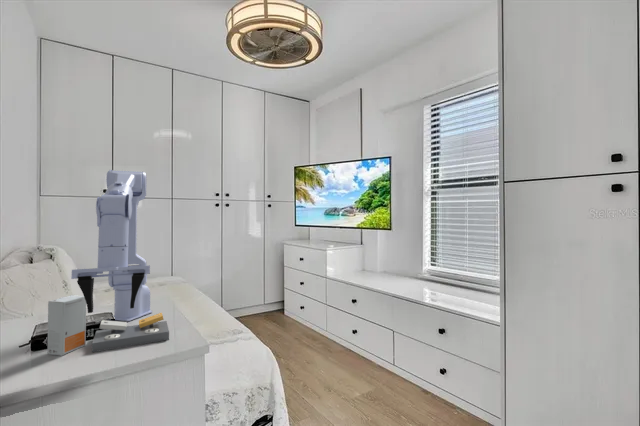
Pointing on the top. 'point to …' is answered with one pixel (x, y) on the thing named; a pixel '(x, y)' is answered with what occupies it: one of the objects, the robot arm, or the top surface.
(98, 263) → the robot arm
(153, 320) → the amber rocker
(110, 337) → the power strip
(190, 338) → the top surface
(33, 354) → the top surface
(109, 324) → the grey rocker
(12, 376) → the top surface
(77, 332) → the skincare box
